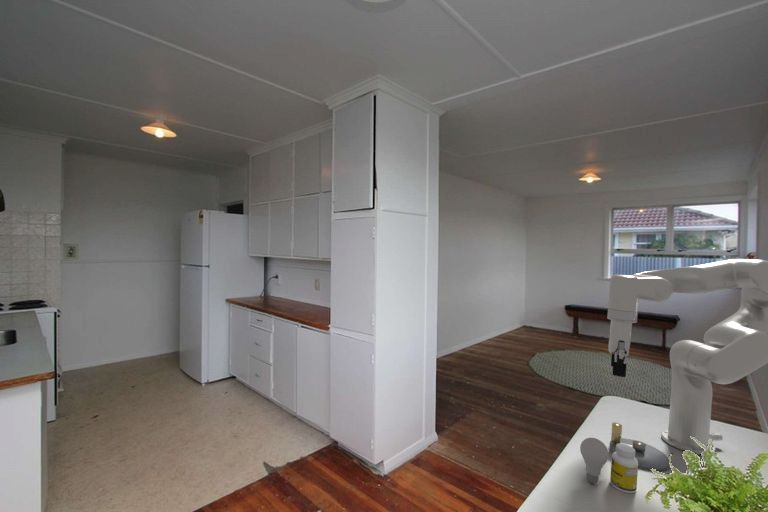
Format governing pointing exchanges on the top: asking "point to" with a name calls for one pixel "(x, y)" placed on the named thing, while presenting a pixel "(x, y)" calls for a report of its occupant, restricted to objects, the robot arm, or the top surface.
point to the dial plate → (647, 456)
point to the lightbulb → (594, 457)
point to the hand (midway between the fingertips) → (617, 371)
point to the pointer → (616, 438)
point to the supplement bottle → (624, 468)
